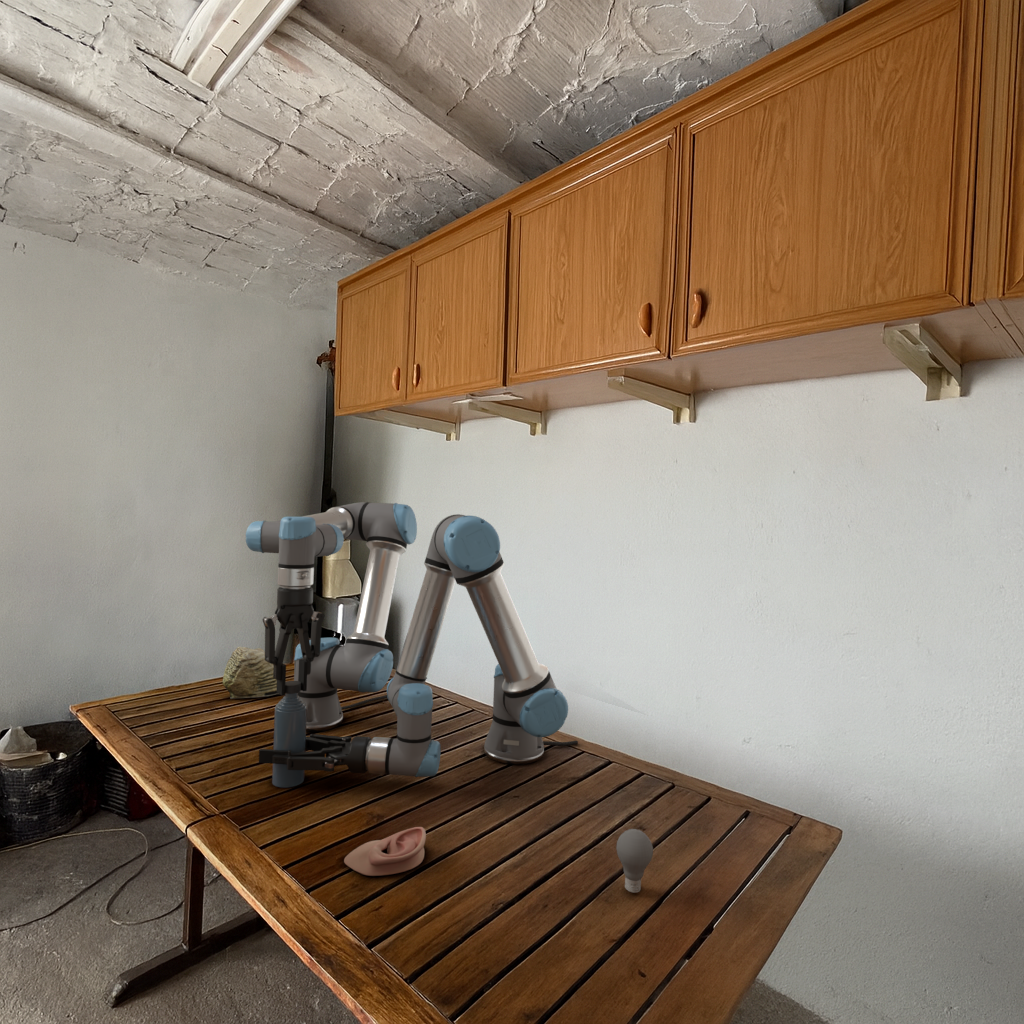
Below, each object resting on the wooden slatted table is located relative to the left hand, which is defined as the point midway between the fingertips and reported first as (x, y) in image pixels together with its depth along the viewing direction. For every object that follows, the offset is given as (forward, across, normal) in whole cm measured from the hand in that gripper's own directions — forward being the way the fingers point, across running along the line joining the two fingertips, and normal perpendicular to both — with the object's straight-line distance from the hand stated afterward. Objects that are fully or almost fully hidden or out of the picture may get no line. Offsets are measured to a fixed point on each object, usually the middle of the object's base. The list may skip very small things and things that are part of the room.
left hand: (291, 691), depth 140 cm
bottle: (+20, 0, 0) cm, 20 cm away
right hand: (+13, -4, +4) cm, 14 cm away
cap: (-2, 0, 0) cm, 2 cm away
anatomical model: (+20, 0, -40) cm, 44 cm away
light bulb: (+20, +26, -74) cm, 81 cm away
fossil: (+20, +18, +63) cm, 68 cm away
